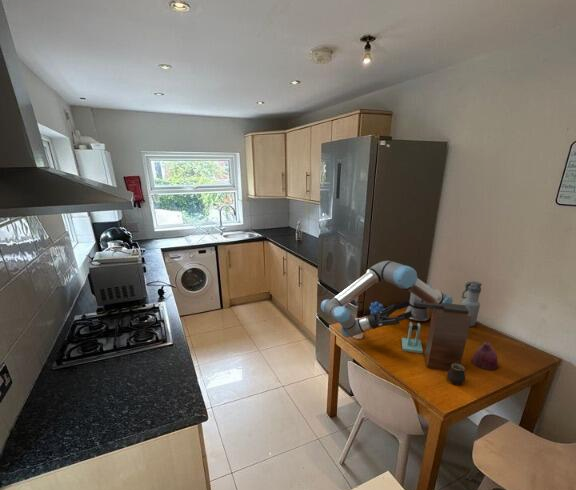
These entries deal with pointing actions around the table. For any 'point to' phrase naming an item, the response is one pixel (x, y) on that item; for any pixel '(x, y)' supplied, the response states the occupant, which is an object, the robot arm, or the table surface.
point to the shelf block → (446, 339)
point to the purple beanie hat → (485, 357)
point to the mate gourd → (456, 374)
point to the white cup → (358, 334)
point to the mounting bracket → (412, 341)
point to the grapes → (376, 308)
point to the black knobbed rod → (414, 327)
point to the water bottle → (472, 299)
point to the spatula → (444, 307)
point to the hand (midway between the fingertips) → (410, 308)
